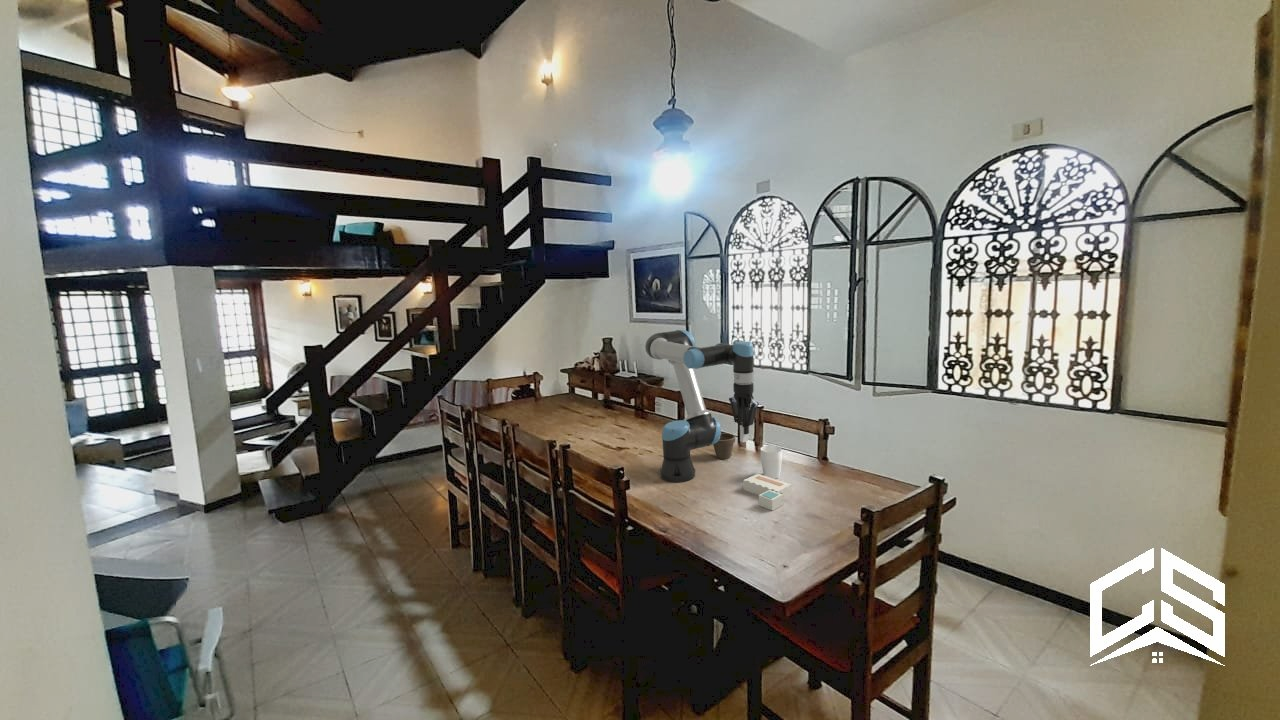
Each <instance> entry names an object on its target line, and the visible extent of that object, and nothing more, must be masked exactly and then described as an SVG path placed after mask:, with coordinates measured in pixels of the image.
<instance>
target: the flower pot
mask: <svg viewBox="0 0 1280 720" xmlns="http://www.w3.org/2000/svg"><path fill="white" fill-rule="evenodd" d="M735 443H736V435H734V434H733V433H728V432H721V435H720V439H719V441H718V442H717V443H715V444H712V445H713V448H714V453H715V456H716V458H717V459H720V460H727V459H730V458H731V456H732V454H733V453H732V452H733V447H734V444H735Z"/></svg>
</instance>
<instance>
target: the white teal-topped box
mask: <svg viewBox="0 0 1280 720" xmlns="http://www.w3.org/2000/svg"><path fill="white" fill-rule="evenodd" d="M758 505H759V506H760V507H763V508H765V509H768V510H770V511H774V510H776V509H778V508H780V507H782V506H784V505H785V498H784V494H783V493H779V492H777V491H774V490H772V489H771V490H768V491H766V492H764V493H762V494H760V495H758Z"/></svg>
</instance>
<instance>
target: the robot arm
mask: <svg viewBox="0 0 1280 720" xmlns="http://www.w3.org/2000/svg"><path fill="white" fill-rule="evenodd" d="M645 342H646V343H645V345H644V346H645V347H644V349H645V352H646V354H647V356H649V357H650V358H652V359H656V360H664V359H665V360H668V363H669V364H671V365H672V366H673V369H674V373H675V376H676V379H677V383H678V386H679V389H680V393H681V397H682V400H683V401H682V402H683V404H684V407H685V411H686V414H687V417H686V418H685V420H683V419H679V420H672V421H669V422H668V423H666V424H664V425H663V427H662V431H661V438H662V453H663V460H662V463H661V468H660V470H659V474H660V478H661V479H662V480H664V481H666V482H671V483H682V482H683V483H684V482H687V481H690V480H692V479H694V478H695V477H696V469H695V466H694V464H693V461H692V458H691V451H693V450H696V449H700V448H705V447H710V446H712V445H713V444H715V443H717V442H718V441H719V439H720V435H721V433H722V428H721V424H720V421H719V420H718V419H717V418H716V417H713V415H712V412H710V411H709V410H707V408H706V404H705V401H704V398H703V395H702V391H701V388H700V385H699V381H698V378H697V375H696V371H695V370H697V369H700V368H706V367H707V368H708V367H713V366H720V365H725V364H727V365H731V366H732V367H733V369H732V370H733V371H732V372H733V373H732V374H733V375H732V376H733V378H732V379H733V385H732V386H733V390H732V391H733V393H734V394H733V396H731V397H729V398H728V401H729V402H730V404H731V411H732V417H733V420H734V422H735V423H737V425H738V433H739V442H740V443H746V442H748V437H749V433H750V432H749V431H750V426H753V425H754V423H755V418H756V417H755V416H756V412H757V408H758V406H759V405H760V404H759V402H758V401H757V402H756V401H755V400H754V396H753V394H754V392H755V391H754V389H755V388H754V386H755V385H754V383H753V382H754V354H755V353H754V343H752V342H750V341H745V340H743V341H735V342H733V344H730V343H726V342H719V343H716V344H715V345H712V346H711V345H710V346H705V347H698V346H696V342H695V338H694V336H693V335H692V333H691V332H689V331H688V330H685V329H682V330H681V329H680V330H679V329H677V330H673V331H672V330H671V331H664V332H656V333H654V334H652V335H650V336H649V337H648V338H647V340H646V341H645Z"/></svg>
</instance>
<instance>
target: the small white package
mask: <svg viewBox="0 0 1280 720" xmlns="http://www.w3.org/2000/svg"><path fill="white" fill-rule="evenodd" d="M771 489H772V490H774V491H777V492H779V493H783V494H784V499H785V498H787V497H788V496H790V495H792V484H791V483H789V482H785V481H782V480H779V479H773V478H770V477H767V476H764V475H763V474H760V473H755V474H754V475H751V476H750V477H748V478H745V479H743V491H747V492H749V493H752V494H754V495H758V496H759V495H760V494H762V493H764V492H766V491H768V490H771Z"/></svg>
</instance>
